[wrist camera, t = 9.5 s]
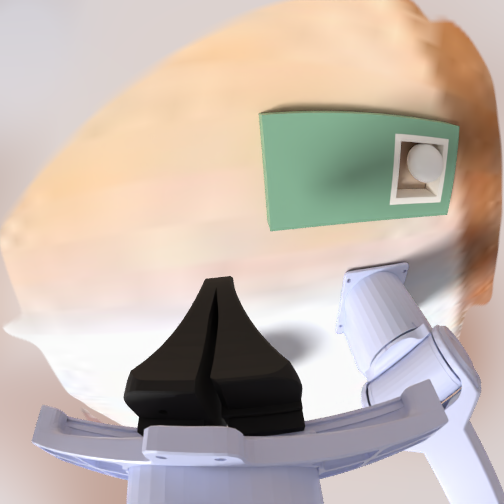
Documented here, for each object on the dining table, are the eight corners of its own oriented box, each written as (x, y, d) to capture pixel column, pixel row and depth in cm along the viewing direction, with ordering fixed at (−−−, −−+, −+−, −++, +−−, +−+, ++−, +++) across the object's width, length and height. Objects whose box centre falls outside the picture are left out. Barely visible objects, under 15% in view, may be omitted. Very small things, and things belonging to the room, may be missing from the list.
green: (436, 206, 24) (447, 214, 22) (267, 220, 23) (270, 231, 22) (446, 122, 19) (459, 126, 17) (258, 113, 18) (261, 115, 17)
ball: (449, 146, 17) (415, 147, 17) (450, 186, 18) (417, 189, 19) (430, 140, 20) (399, 141, 20) (432, 175, 21) (402, 178, 22)
